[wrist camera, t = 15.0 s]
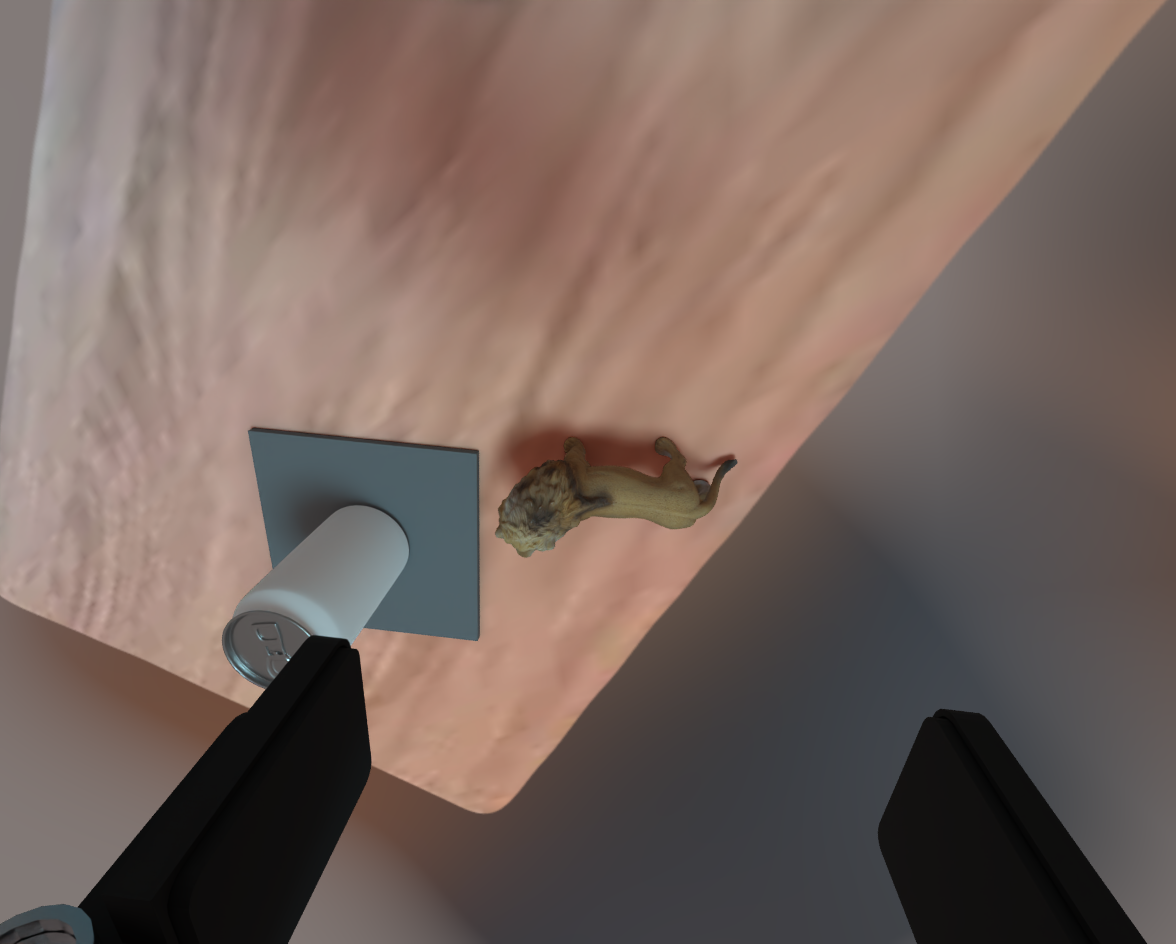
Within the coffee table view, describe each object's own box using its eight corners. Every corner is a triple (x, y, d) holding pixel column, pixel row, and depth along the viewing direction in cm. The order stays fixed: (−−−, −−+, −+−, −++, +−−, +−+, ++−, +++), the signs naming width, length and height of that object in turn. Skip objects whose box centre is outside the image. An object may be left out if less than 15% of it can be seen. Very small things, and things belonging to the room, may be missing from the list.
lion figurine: (526, 509, 40) (497, 581, 32) (513, 439, 38) (478, 497, 30) (736, 491, 38) (763, 564, 30) (734, 417, 36) (762, 473, 28)
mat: (253, 427, 39) (247, 430, 39) (478, 450, 39) (476, 453, 38) (285, 613, 46) (281, 618, 45) (479, 635, 45) (477, 641, 44)
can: (340, 581, 43) (240, 701, 32) (314, 506, 41) (194, 608, 30) (421, 575, 42) (345, 696, 31) (398, 498, 40) (307, 601, 29)
